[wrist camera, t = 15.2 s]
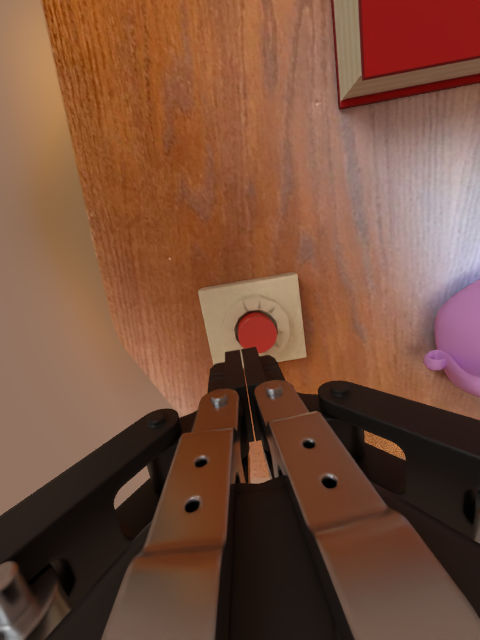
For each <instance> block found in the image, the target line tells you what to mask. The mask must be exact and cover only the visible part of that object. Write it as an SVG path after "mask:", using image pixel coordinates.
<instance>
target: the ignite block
mask: <svg viewBox="0 0 480 640" xmlns="http://www.w3.org/2000/svg"><path fill="white" fill-rule="evenodd" d="M198 295H199V299H200V304H201V309H202V313H203V318H204V323H205V328H206V332H207V337H208V342H209V346H210V351H211V356H212V361H213V365H214V364H216V363H222V362H225V352H227V351H233V350H239V349H240V353H241V359H242V365H243V368H244V363H243V357H242V351H241V349H244V348H243V347H242V346H241V344H240V342H239V339H238V325H239V322H240V321H241V319H242V318H243V317H244V316H246V315H247V314H250V313H253V312H259V313H263V314H265V315H267V316H268V317H269V318H270V319H271V320H272V322H273V324H274V325H275V327H276V330H277V338H276V342H275V344H274V345H273V346H272V347H271V348H270V349H269V350H268V351H266V352H263V353H258V354H259V356H264V355H270V356H272V357H274V358H275V359H276V361H277V362H282V361H288V360H293V359H299V358H305V357H307V356H306V347H305V338H304V329H303V320H302V311H301V302H300V293H299V284H298V275H297V274H296V273H293V272H290V273H284V274H279V275H273V276H267V277H261V278H256V279H250V280H244V281H239V282H233V283H227V284H221V285H216V286H210V287H204V288H200V289H199V291H198Z"/></svg>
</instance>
